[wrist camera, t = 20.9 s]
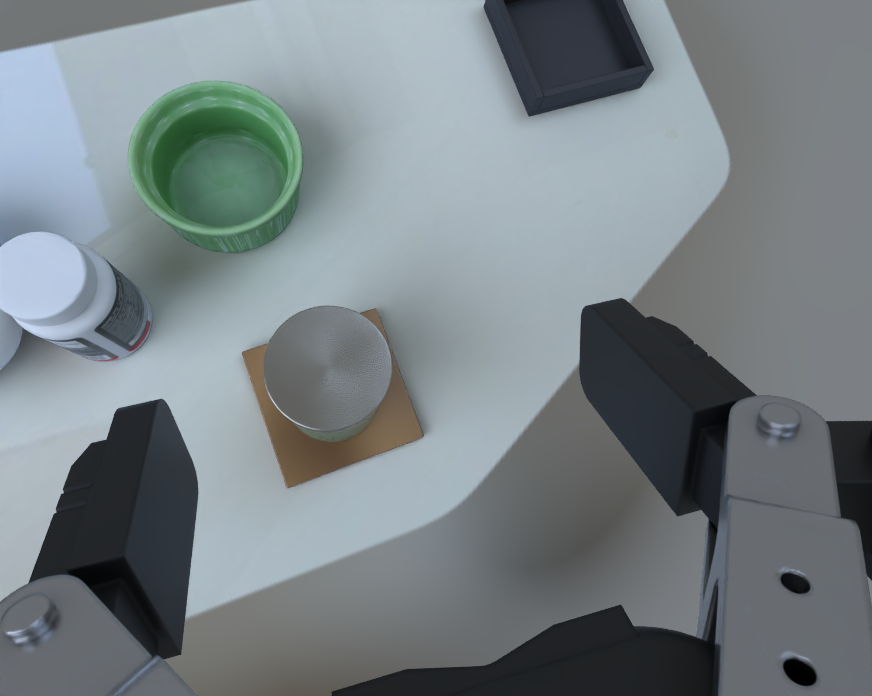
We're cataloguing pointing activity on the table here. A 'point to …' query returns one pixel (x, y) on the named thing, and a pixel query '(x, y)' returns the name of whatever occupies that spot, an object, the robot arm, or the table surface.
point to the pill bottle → (72, 297)
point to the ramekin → (218, 164)
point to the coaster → (317, 458)
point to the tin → (328, 371)
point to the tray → (568, 50)
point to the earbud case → (8, 337)
